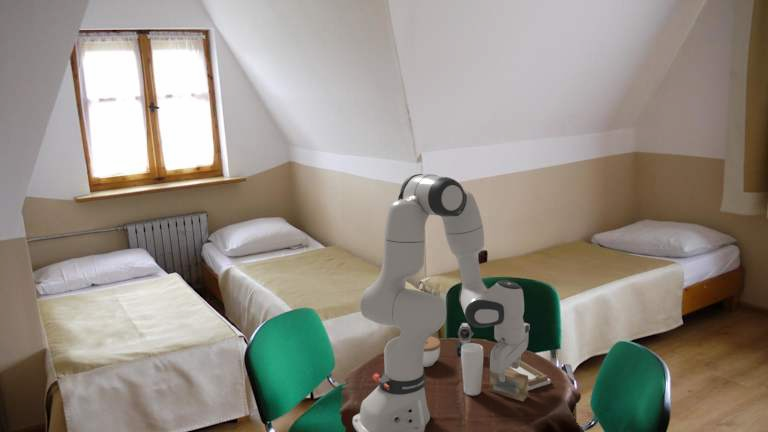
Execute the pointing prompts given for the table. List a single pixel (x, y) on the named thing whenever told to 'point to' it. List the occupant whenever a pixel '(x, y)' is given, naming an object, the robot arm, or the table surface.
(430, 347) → the lidded jar
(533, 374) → the small wooden cabinet
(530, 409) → the table surface
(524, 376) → the cardboard box
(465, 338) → the watch
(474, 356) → the drinking glass
